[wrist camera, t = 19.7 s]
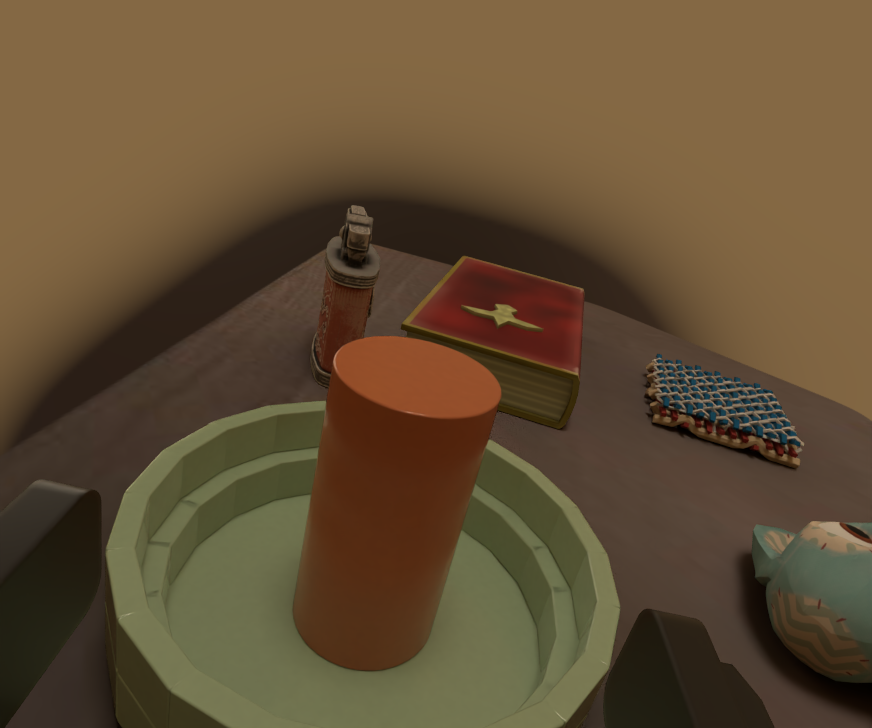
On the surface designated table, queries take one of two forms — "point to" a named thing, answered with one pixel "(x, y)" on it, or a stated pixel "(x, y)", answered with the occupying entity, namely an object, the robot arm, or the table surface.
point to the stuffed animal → (820, 594)
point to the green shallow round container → (275, 586)
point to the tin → (389, 496)
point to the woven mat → (721, 410)
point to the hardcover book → (510, 334)
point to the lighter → (345, 291)
